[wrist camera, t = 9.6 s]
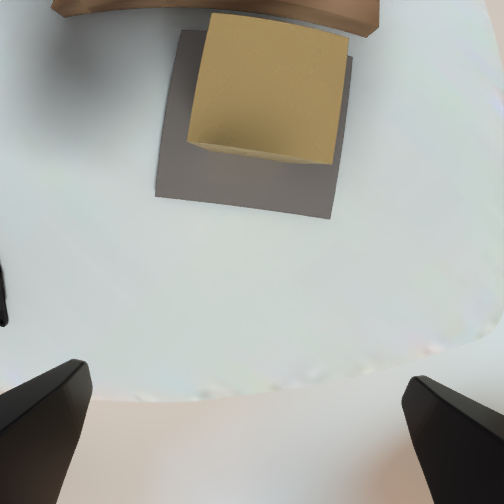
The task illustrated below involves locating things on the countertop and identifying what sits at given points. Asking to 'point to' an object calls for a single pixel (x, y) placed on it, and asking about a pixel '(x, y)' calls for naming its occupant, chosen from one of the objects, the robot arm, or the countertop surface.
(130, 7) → the walnut board
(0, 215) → the countertop surface
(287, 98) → the brass plug
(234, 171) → the rubber mat
